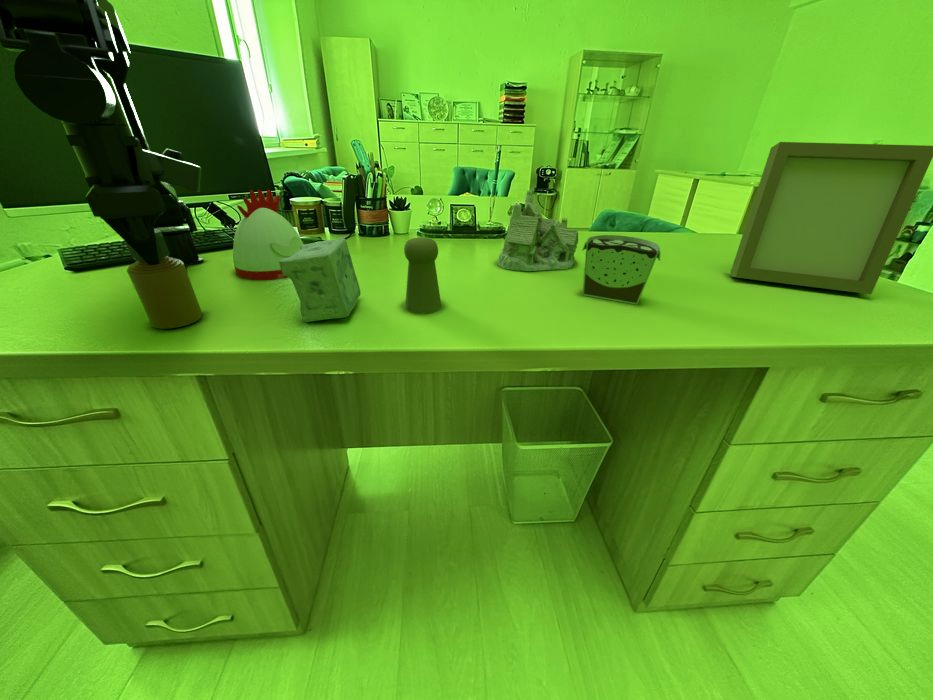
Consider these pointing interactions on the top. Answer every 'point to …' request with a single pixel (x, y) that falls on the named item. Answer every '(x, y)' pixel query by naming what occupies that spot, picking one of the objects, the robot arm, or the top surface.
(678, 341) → the top surface
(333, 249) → the incense holder
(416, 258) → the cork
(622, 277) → the food container
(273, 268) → the kitchen timer
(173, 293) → the bottle
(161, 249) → the cap
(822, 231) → the photo frame
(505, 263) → the ceramic cottage
